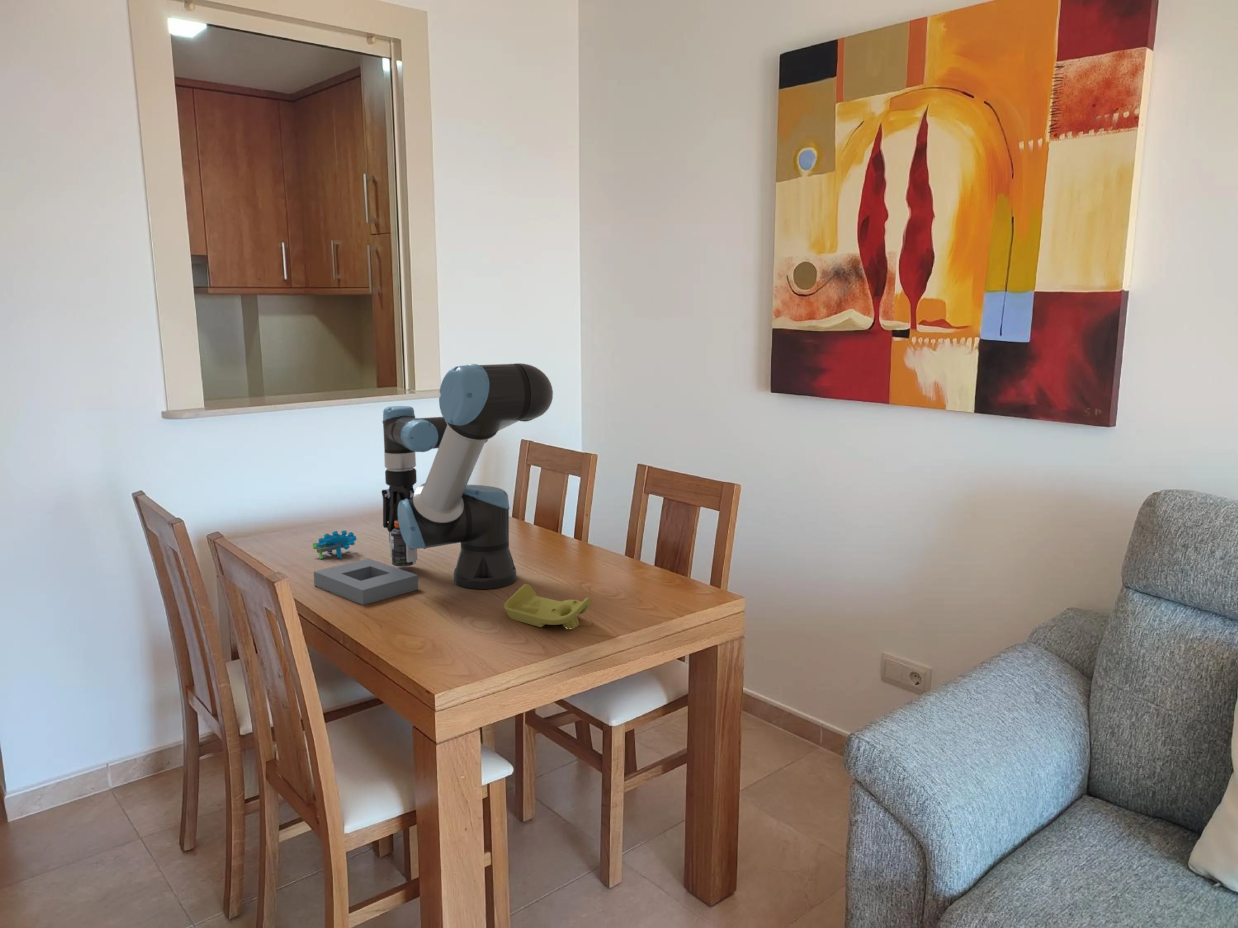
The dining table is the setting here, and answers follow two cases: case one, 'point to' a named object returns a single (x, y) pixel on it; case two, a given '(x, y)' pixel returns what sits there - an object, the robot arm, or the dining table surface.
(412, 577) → the socket block
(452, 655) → the dining table surface
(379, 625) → the dining table surface
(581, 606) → the plastic component
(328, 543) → the gear
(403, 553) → the pill bottle
